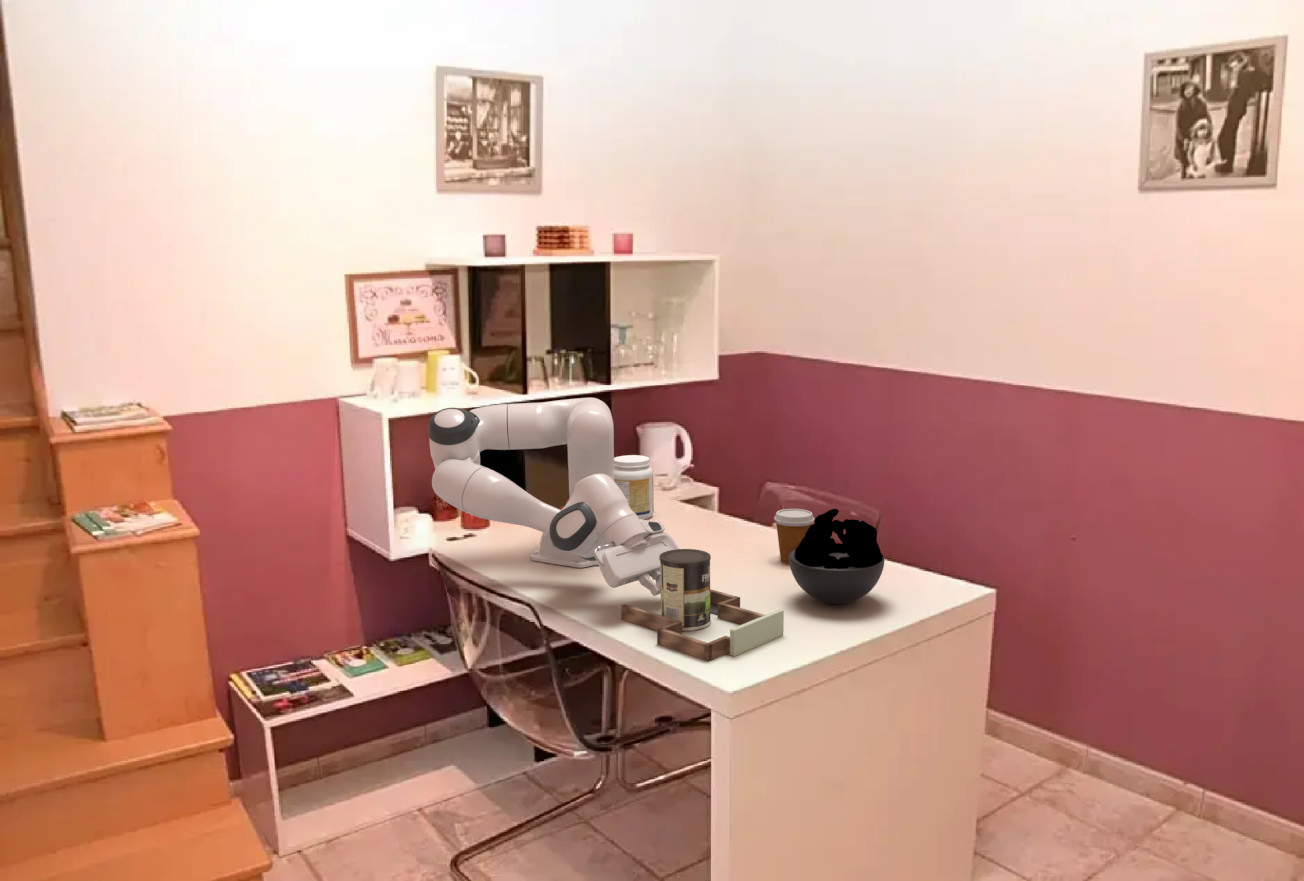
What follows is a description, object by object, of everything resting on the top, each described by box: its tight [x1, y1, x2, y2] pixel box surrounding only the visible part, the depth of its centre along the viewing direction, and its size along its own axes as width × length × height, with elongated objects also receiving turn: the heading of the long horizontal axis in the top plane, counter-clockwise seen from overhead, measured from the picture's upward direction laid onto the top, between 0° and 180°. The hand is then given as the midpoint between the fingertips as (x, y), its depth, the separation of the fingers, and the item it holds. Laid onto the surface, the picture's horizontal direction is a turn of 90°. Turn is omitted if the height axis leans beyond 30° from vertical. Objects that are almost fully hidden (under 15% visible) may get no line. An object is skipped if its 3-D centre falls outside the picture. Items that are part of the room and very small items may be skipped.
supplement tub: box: [614, 454, 655, 520], centre depth 298 cm, size 12×12×17 cm
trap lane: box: [620, 588, 765, 662], centre depth 211 cm, size 29×25×3 cm
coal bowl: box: [788, 508, 885, 605], centre depth 223 cm, size 20×20×19 cm
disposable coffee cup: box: [773, 508, 815, 566], centre depth 253 cm, size 10×10×12 cm
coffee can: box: [659, 548, 712, 632], centre depth 212 cm, size 10×10×14 cm
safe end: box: [729, 608, 785, 657], centre depth 200 cm, size 1×15×5 cm, turn 136°
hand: (660, 592), depth 217 cm, fingers closed
